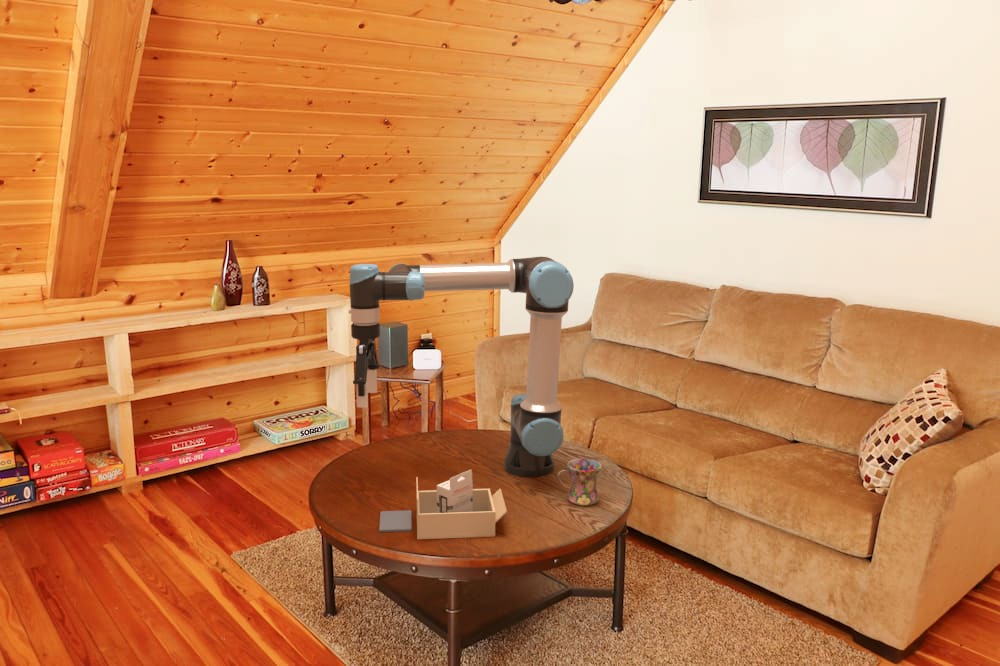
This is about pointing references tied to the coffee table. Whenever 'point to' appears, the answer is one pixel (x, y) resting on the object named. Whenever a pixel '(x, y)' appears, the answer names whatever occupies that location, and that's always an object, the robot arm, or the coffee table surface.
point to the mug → (582, 481)
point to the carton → (459, 516)
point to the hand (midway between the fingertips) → (367, 399)
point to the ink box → (456, 494)
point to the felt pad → (395, 521)
